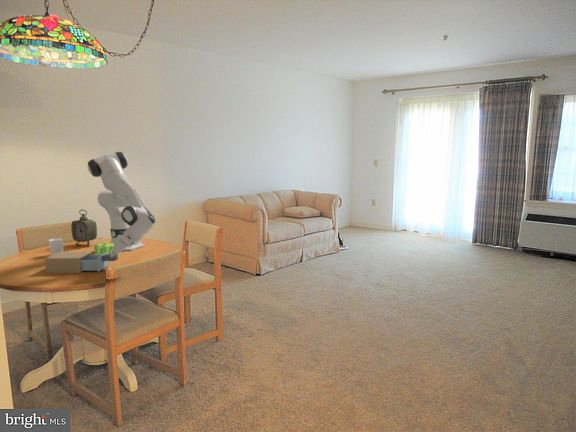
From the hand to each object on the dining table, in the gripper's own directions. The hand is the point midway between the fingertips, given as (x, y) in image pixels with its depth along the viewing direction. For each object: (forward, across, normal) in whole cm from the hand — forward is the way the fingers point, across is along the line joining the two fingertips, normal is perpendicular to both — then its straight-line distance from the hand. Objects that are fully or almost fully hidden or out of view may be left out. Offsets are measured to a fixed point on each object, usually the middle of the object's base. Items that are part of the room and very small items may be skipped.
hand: (114, 254), depth 223 cm
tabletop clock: (+36, -57, -24) cm, 72 cm away
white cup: (+40, -31, -28) cm, 57 cm away
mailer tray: (+14, 0, -3) cm, 14 cm away
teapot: (+16, -23, -4) cm, 28 cm away
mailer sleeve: (+23, 0, -12) cm, 26 cm away
